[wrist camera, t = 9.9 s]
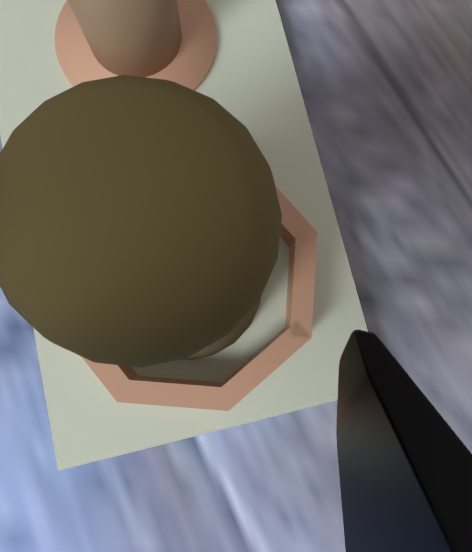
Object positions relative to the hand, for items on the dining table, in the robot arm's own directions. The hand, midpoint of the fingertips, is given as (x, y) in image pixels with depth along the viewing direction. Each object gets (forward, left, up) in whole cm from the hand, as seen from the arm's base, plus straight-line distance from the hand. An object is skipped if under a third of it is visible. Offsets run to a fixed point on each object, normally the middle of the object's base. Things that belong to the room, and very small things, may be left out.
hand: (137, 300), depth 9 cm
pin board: (+6, -4, -9) cm, 12 cm away
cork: (+1, -1, -8) cm, 9 cm away
